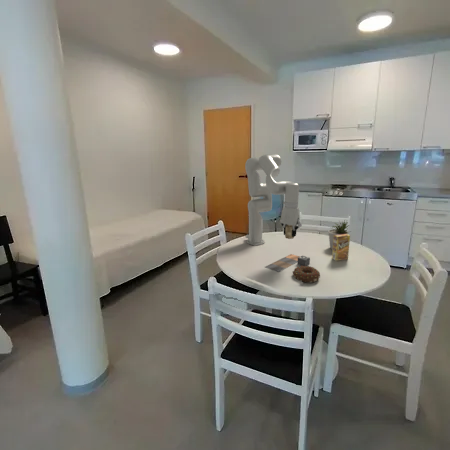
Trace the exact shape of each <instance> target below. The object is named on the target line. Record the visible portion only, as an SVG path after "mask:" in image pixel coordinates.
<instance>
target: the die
mask: <svg viewBox="0 0 450 450" xmlns="http://www.w3.org/2000/svg"><path fill="white" fill-rule="evenodd" d="M299 256H300V255H299ZM310 261H311V257H309V256H305V255H301V256H300V257H299V258H298V262H297V263H296V264H297V265H299V266H309V265H310V264H311V263H310Z"/></svg>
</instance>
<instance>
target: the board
mask: <svg viewBox="0 0 450 450" xmlns="http://www.w3.org/2000/svg"><path fill="white" fill-rule="evenodd" d="M299 257H300V255H295V254H292V253H290V254H288V255H286V256H285V257H282V258H281V259H278V260H276V261H274V262H272V263H270V264H268V265H266V266H264V269H265V268H266V269H269V270H271V271H275V272H277V273H281V272H282V271H283V270H285V269H288V268H290V267H291V266H293V265H295V264H297V263H298V258H299Z"/></svg>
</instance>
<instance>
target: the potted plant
mask: <svg viewBox="0 0 450 450" xmlns="http://www.w3.org/2000/svg"><path fill="white" fill-rule="evenodd" d="M338 222H339V223H340V224H338V223H336V222H334V224H335V225H332V226H331V229H329V230H327V231H328V240H329V248H330V249H331V250H333V239H334V235H340V234H348V235H350V234H349V233H351V232H352V231H348V228H349V226H350V224H349V225H347V224H348V223H349V222H348V221H346V219H344V221H340V220H338Z"/></svg>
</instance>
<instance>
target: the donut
mask: <svg viewBox="0 0 450 450" xmlns="http://www.w3.org/2000/svg"><path fill="white" fill-rule="evenodd" d="M292 275H293V277H294V278H295V279H297V280H298V281H301V282H303V283H310V284H311V283H315V282H317V281H319V279H320V278H321V273H320V271H319V270H318V269H316V268H315V267H313V266H309V265H307V266H302V265H299V266H297V267H295V268H294V269H293V271H292Z"/></svg>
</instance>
